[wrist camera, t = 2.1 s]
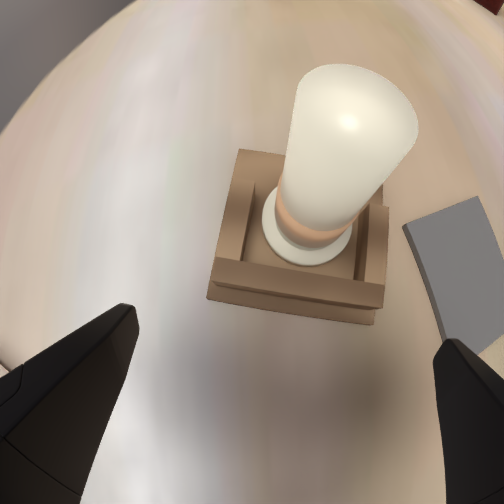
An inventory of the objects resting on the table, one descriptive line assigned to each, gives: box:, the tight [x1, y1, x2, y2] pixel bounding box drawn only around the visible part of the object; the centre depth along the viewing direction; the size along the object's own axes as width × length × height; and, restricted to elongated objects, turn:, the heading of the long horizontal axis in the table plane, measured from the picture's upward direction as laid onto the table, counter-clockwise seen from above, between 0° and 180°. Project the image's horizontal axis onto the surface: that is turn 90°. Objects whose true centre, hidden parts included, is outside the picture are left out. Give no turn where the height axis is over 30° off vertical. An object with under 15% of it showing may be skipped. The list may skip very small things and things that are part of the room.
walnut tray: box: [206, 149, 389, 325], centre depth 21 cm, size 12×12×3 cm
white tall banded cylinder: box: [262, 64, 418, 267], centre depth 15 cm, size 6×6×13 cm
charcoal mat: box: [402, 196, 504, 355], centre depth 21 cm, size 13×10×1 cm
